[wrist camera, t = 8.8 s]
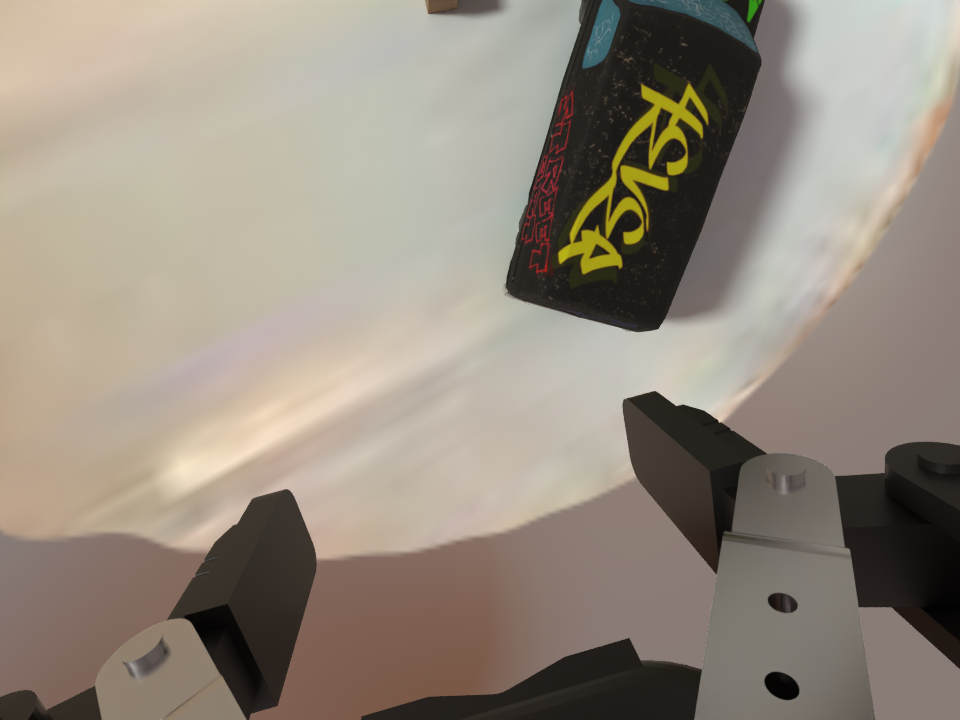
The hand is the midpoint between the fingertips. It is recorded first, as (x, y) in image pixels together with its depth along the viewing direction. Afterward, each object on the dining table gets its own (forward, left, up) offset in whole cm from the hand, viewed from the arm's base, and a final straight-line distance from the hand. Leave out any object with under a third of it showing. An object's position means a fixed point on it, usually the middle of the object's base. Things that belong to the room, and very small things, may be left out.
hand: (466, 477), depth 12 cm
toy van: (-8, +15, -29) cm, 34 cm away
